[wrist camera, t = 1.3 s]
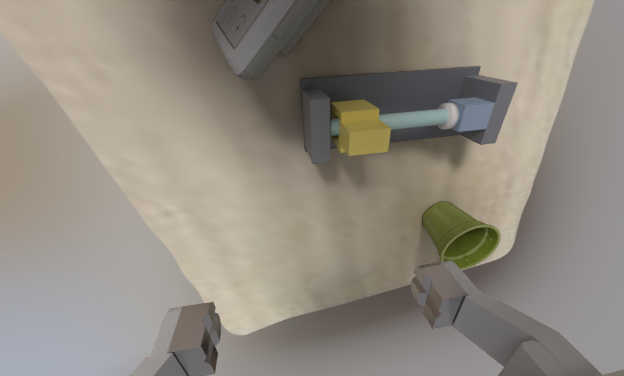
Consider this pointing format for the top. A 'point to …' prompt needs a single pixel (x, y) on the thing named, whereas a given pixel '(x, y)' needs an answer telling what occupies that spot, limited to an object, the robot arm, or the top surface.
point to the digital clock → (262, 31)
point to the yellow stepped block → (359, 128)
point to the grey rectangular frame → (409, 105)
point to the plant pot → (459, 235)
